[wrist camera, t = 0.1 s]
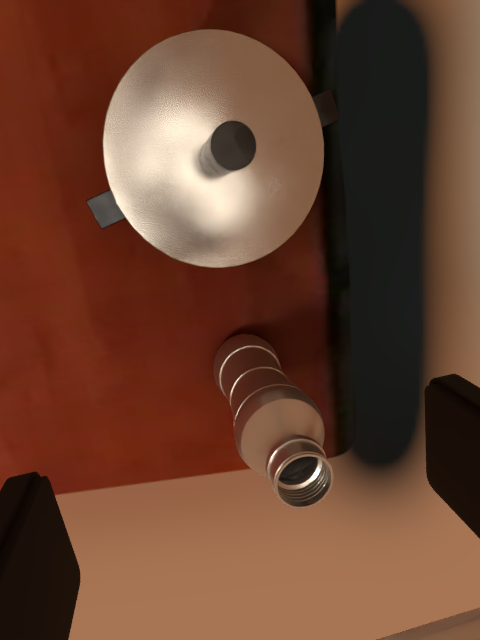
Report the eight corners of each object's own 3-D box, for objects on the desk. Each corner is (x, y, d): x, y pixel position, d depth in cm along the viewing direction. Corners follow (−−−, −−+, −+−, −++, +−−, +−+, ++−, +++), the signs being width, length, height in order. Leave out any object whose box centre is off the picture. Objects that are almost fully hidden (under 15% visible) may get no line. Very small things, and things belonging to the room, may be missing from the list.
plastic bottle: (214, 394, 44) (255, 541, 25) (206, 332, 42) (244, 441, 23) (274, 383, 45) (358, 518, 26) (269, 322, 43) (356, 420, 24)
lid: (60, 91, 30) (25, 53, 22) (272, -3, 31) (310, -72, 23) (167, 299, 35) (169, 327, 27) (346, 214, 36) (397, 218, 28)
